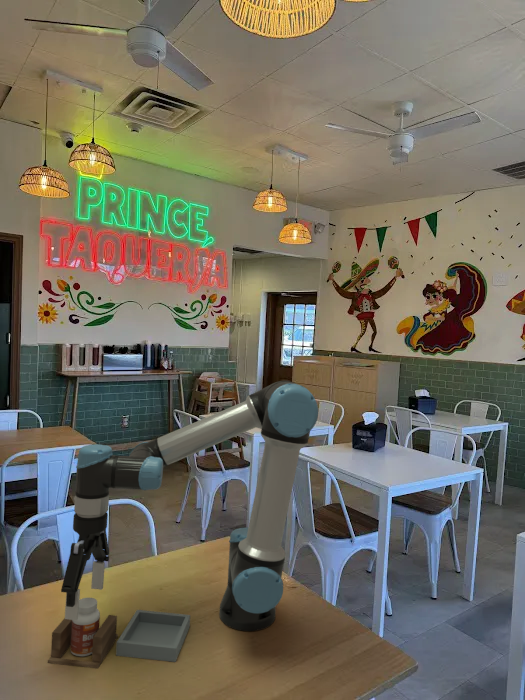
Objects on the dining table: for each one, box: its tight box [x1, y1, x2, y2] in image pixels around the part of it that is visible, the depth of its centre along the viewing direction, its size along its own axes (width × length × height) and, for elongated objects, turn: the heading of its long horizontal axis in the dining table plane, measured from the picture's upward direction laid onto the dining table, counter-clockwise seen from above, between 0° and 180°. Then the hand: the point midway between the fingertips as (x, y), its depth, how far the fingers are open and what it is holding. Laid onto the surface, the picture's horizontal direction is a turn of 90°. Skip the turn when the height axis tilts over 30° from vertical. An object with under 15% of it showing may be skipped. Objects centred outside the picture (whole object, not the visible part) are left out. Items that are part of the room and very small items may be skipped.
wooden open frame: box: [47, 614, 119, 669], centre depth 115 cm, size 12×12×6 cm
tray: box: [115, 609, 191, 663], centre depth 120 cm, size 14×14×3 cm
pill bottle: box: [70, 597, 101, 657], centre depth 115 cm, size 6×6×11 cm
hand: (85, 602), depth 115 cm, fingers open, 13 cm apart
